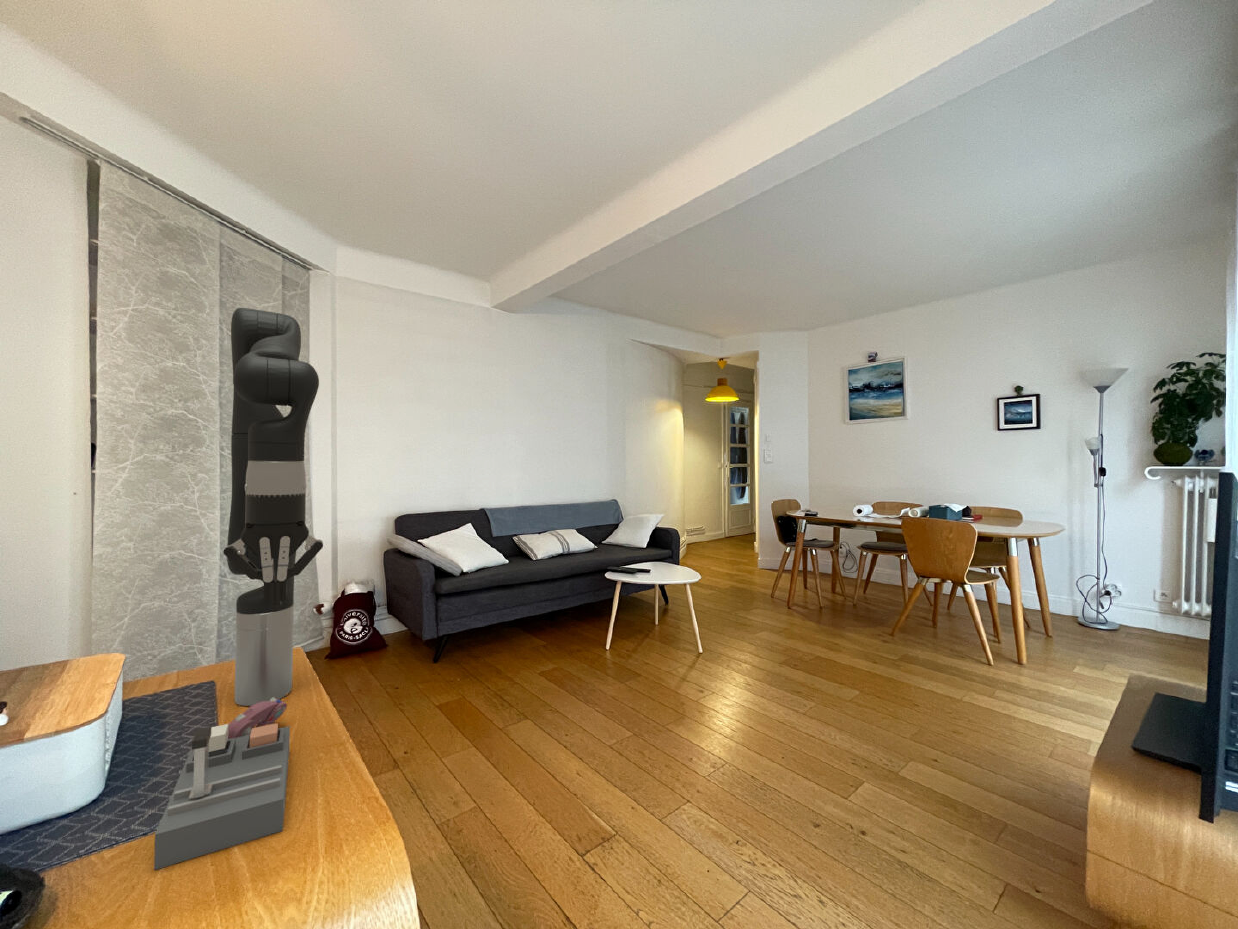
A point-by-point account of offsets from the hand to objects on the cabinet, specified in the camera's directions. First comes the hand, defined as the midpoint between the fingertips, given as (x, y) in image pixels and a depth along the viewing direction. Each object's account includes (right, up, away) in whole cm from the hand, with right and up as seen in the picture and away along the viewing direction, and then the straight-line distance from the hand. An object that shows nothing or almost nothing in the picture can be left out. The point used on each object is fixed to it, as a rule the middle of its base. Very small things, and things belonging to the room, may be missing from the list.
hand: (275, 604), depth 76 cm
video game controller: (-9, -25, +7) cm, 27 cm away
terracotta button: (0, -20, -2) cm, 20 cm away
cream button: (-5, -18, -5) cm, 20 cm away
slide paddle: (0, -20, -14) cm, 24 cm away
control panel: (0, -24, -8) cm, 26 cm away
